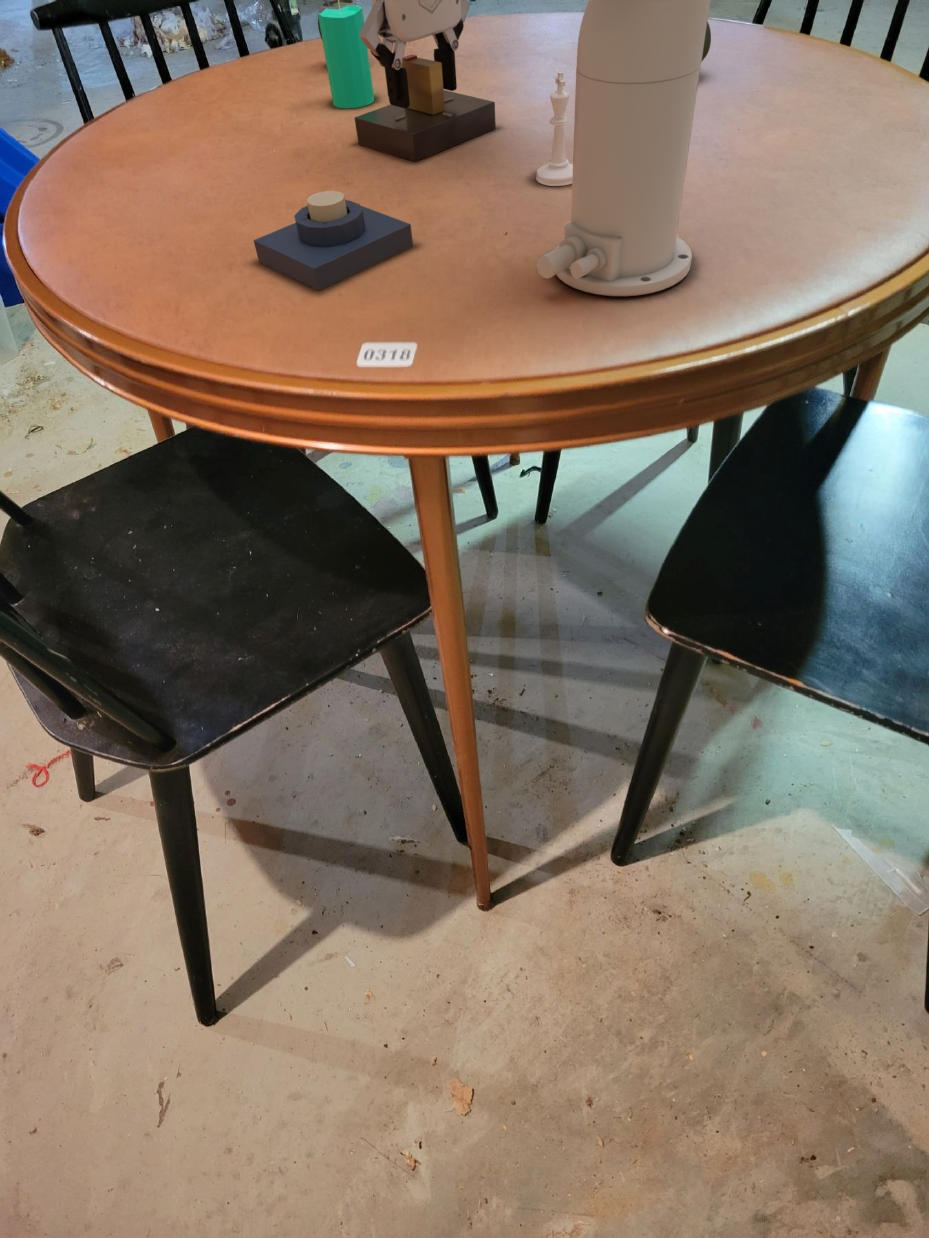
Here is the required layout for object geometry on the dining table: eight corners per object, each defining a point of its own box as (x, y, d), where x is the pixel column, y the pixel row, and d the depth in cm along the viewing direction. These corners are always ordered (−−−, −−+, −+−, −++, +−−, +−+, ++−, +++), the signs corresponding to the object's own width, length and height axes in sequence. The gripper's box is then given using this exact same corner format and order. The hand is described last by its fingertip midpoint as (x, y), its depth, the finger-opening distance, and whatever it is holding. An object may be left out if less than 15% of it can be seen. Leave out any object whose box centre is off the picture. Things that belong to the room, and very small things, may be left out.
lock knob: (445, 110, 96) (441, 60, 92) (433, 115, 95) (429, 64, 91) (416, 103, 98) (411, 53, 94) (404, 107, 98) (399, 58, 94)
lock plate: (415, 162, 93) (412, 132, 91) (358, 144, 99) (353, 116, 96) (495, 128, 99) (494, 100, 97) (437, 113, 105) (435, 86, 102)
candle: (380, 95, 112) (367, -10, 103) (366, 109, 108) (350, 1, 99) (342, 95, 113) (325, -9, 104) (326, 108, 109) (308, 2, 100)
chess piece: (545, 189, 85) (546, 82, 77) (530, 174, 88) (529, 70, 81) (586, 181, 86) (592, 74, 78) (570, 167, 89) (574, 63, 81)
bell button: (325, 228, 73) (321, 208, 72) (303, 219, 75) (299, 199, 74) (355, 215, 75) (351, 196, 73) (332, 206, 76) (328, 187, 75)
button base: (318, 291, 72) (309, 248, 69) (259, 262, 77) (247, 221, 74) (413, 246, 77) (408, 204, 74) (351, 222, 83) (344, 181, 80)
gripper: (365, -81, 77) (389, 122, 90) (488, -108, 84) (494, 84, 97) (320, -84, 81) (350, 111, 94) (441, -110, 88) (453, 75, 101)
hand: (423, 96), depth 96 cm, fingers open, 7 cm apart
